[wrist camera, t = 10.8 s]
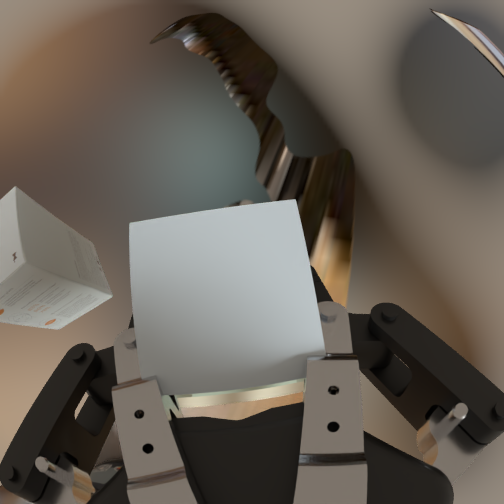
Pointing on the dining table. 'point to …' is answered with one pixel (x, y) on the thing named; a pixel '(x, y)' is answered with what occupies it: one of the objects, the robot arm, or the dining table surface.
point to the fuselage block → (223, 298)
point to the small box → (45, 267)
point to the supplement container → (104, 472)
